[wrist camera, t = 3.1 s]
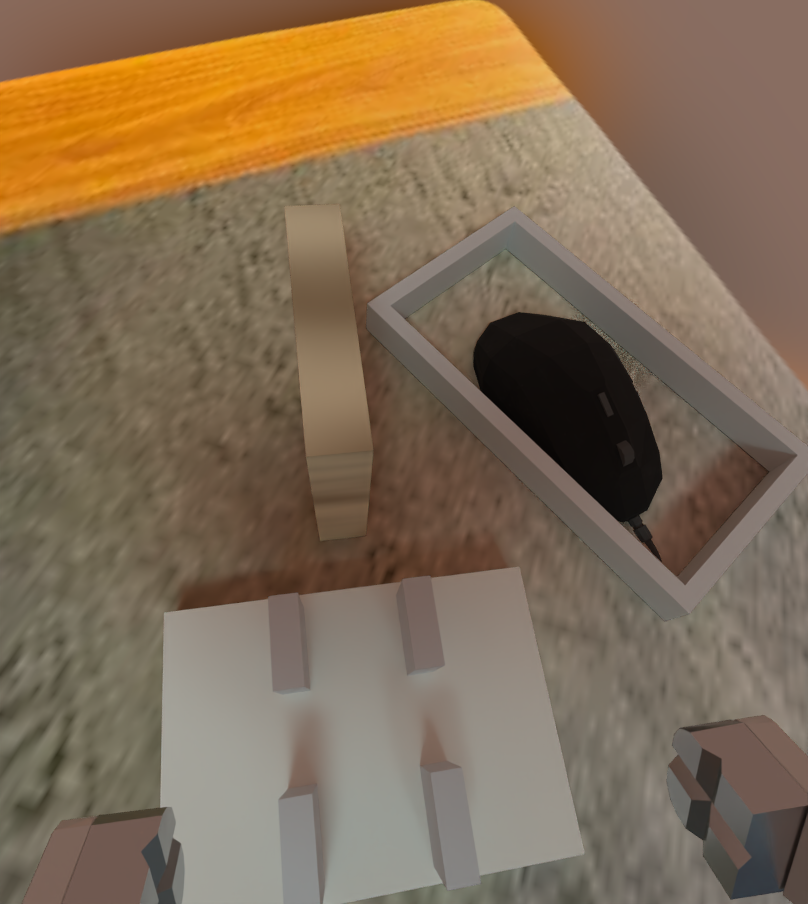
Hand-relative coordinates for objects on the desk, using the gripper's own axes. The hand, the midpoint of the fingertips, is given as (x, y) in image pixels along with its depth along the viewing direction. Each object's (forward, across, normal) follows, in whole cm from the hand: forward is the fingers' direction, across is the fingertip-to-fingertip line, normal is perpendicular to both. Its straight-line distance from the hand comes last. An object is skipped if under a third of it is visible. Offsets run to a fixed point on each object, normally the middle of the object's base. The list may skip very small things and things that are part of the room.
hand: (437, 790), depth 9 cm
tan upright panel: (+19, +1, +1) cm, 19 cm away
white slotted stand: (+10, +1, +9) cm, 14 cm away
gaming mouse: (+19, -11, +2) cm, 22 cm away
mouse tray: (+20, -11, 0) cm, 23 cm away
